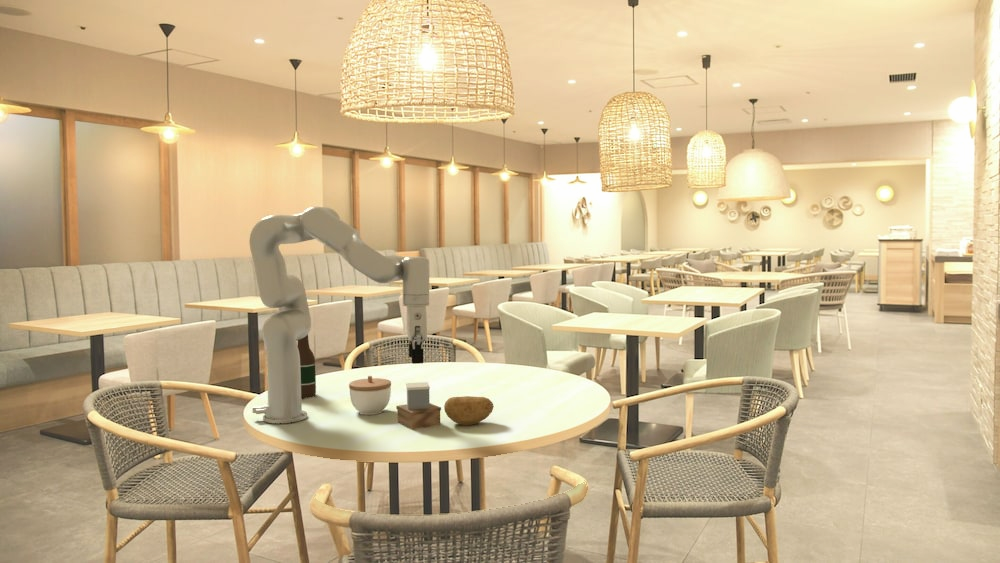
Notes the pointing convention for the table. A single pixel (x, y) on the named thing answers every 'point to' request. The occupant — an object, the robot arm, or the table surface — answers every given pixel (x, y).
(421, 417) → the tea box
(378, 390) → the lidded bowl
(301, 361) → the beer bottle
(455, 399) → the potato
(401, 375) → the table surface
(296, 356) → the robot arm
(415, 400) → the beige cube
